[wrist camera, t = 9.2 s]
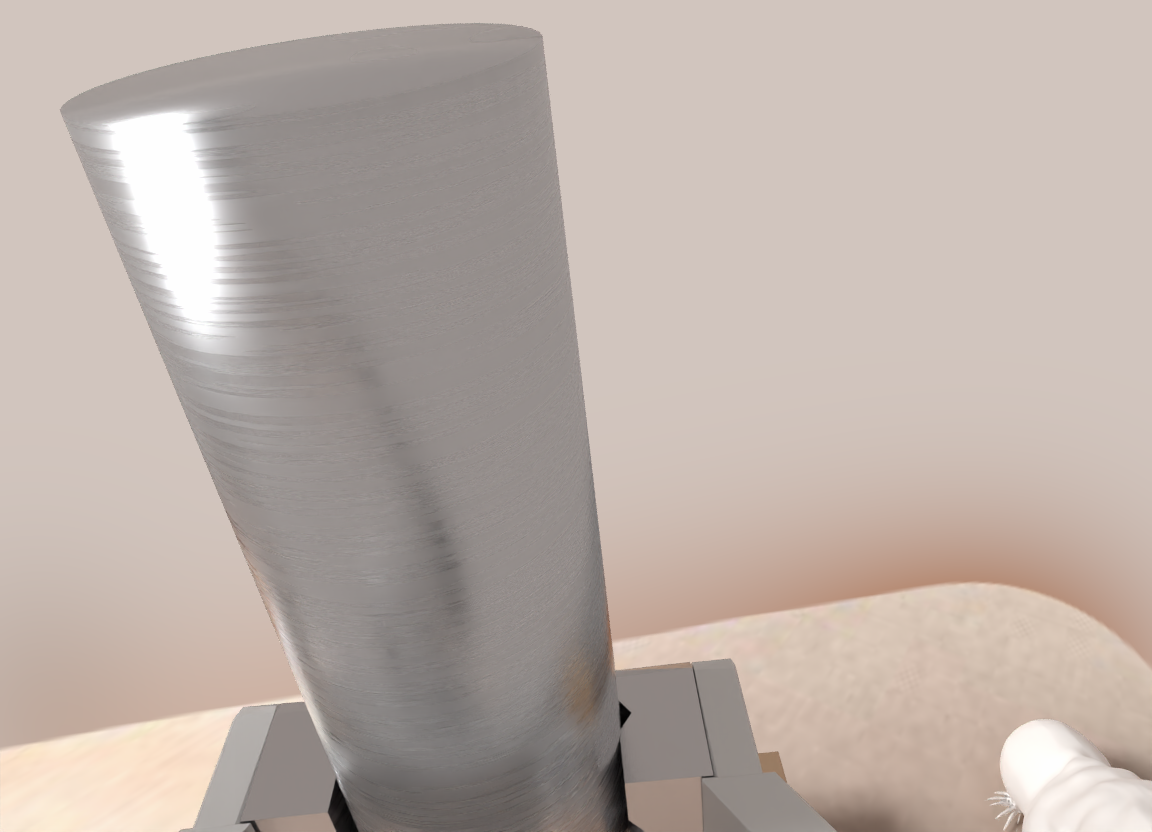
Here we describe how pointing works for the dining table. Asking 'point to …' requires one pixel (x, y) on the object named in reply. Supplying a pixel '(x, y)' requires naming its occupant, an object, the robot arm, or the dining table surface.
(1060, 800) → the white lumpy figurine
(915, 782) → the dining table surface
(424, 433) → the steel peg
